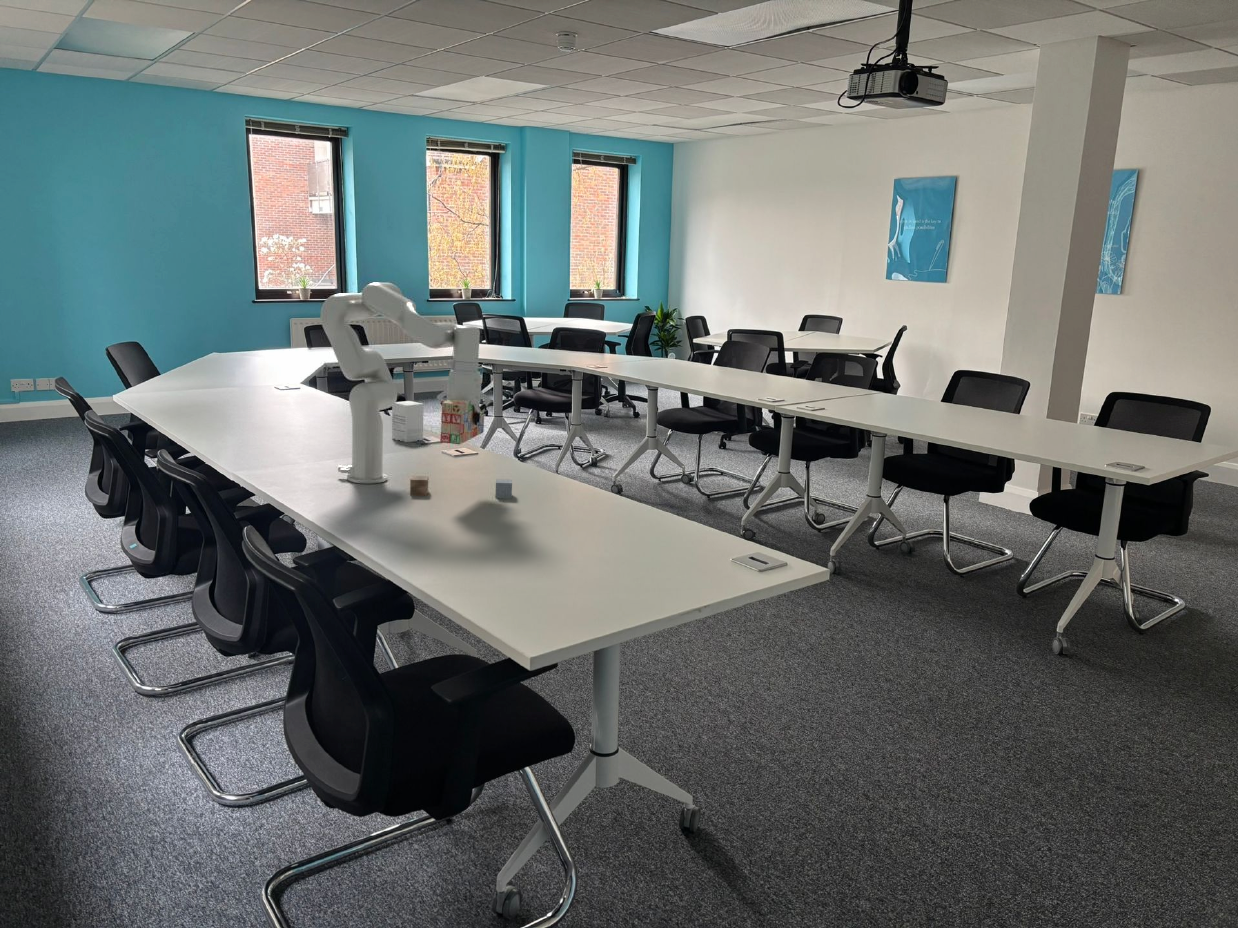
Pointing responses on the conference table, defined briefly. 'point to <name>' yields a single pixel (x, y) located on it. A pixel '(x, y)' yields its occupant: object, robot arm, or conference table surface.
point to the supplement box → (407, 421)
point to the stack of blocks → (459, 422)
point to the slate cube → (503, 488)
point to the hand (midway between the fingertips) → (462, 423)
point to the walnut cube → (419, 485)
